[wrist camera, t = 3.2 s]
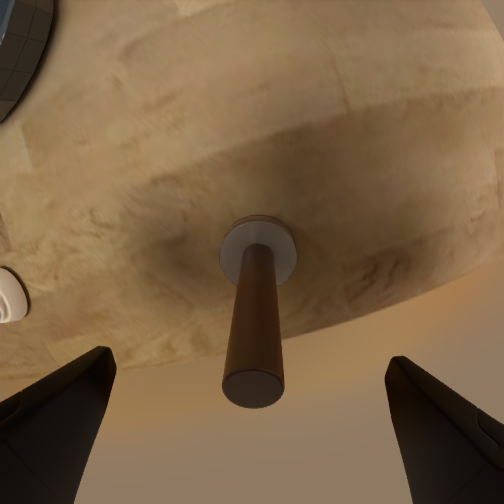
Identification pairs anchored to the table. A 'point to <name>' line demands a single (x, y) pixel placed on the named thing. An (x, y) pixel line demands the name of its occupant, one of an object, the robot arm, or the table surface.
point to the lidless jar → (11, 298)
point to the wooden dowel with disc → (256, 309)
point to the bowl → (21, 45)
